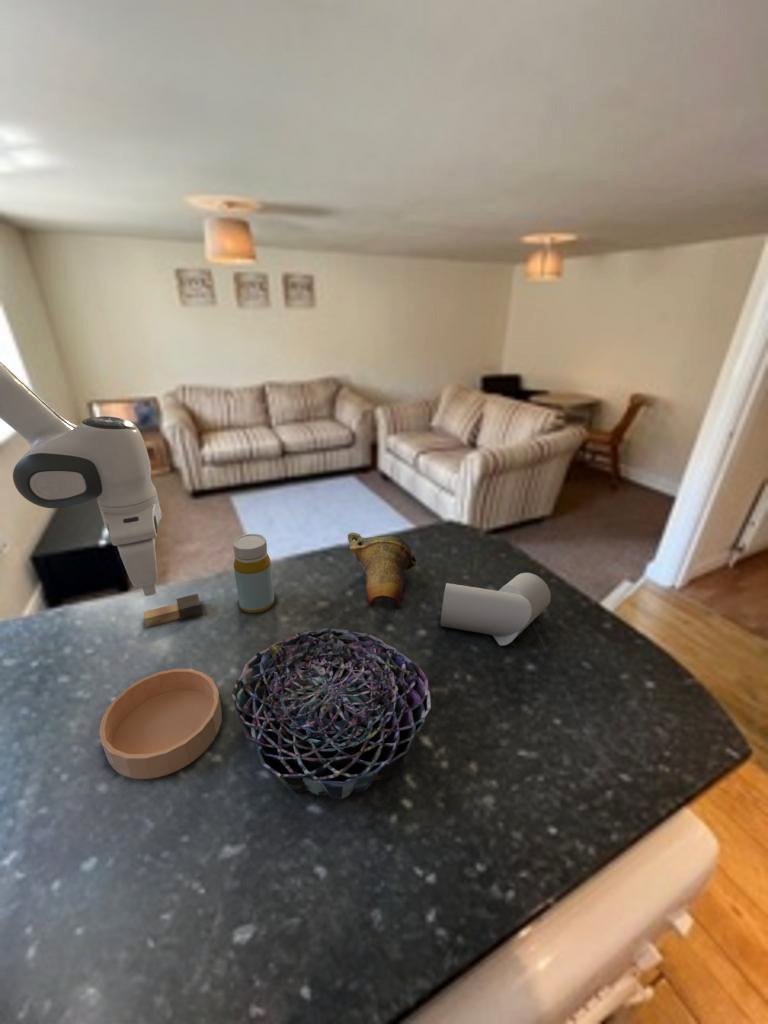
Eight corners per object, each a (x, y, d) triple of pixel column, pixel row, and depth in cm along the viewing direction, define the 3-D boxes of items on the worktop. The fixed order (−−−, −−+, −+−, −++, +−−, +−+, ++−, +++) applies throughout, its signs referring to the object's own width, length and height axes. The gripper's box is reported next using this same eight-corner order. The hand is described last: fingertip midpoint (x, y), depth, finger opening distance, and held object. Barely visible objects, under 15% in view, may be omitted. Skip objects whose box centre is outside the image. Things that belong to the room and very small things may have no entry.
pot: (348, 578, 86) (356, 513, 99) (332, 609, 94) (341, 545, 107) (430, 599, 90) (427, 534, 103) (408, 627, 97) (408, 563, 110)
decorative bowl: (328, 883, 50) (330, 836, 46) (199, 728, 65) (191, 681, 61) (452, 734, 68) (463, 689, 63) (328, 639, 83) (330, 597, 78)
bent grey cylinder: (507, 669, 76) (558, 616, 89) (504, 615, 73) (556, 568, 86) (426, 638, 88) (481, 595, 102) (420, 590, 85) (478, 553, 99)
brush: (147, 631, 84) (143, 618, 83) (146, 619, 88) (142, 606, 86) (203, 616, 89) (200, 604, 87) (200, 605, 92) (197, 593, 91)
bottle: (277, 610, 91) (270, 546, 84) (241, 618, 89) (232, 553, 82) (271, 591, 97) (265, 530, 90) (238, 598, 94) (229, 535, 88)
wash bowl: (84, 781, 58) (74, 758, 56) (139, 689, 72) (133, 668, 70) (201, 781, 59) (196, 758, 57) (234, 689, 73) (231, 669, 71)
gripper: (111, 493, 83) (128, 557, 89) (109, 542, 67) (130, 615, 73) (149, 487, 86) (163, 549, 92) (155, 533, 70) (172, 604, 76)
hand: (149, 579), depth 83 cm, fingers open, 8 cm apart
